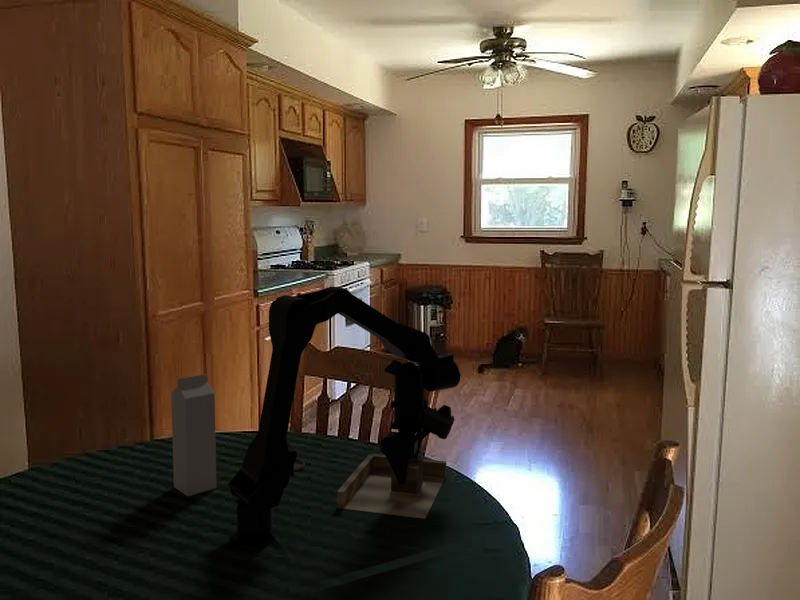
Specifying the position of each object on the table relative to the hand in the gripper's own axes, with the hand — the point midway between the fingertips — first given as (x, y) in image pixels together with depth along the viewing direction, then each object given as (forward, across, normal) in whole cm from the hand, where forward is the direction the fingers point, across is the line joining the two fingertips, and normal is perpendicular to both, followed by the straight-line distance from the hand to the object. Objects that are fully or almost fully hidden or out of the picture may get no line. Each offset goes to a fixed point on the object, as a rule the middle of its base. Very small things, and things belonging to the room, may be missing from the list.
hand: (407, 474), depth 130 cm
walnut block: (+3, 0, 0) cm, 3 cm away
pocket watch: (+4, +6, +28) cm, 29 cm away
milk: (+4, -9, +40) cm, 41 cm away
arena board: (+4, -2, +2) cm, 5 cm away
